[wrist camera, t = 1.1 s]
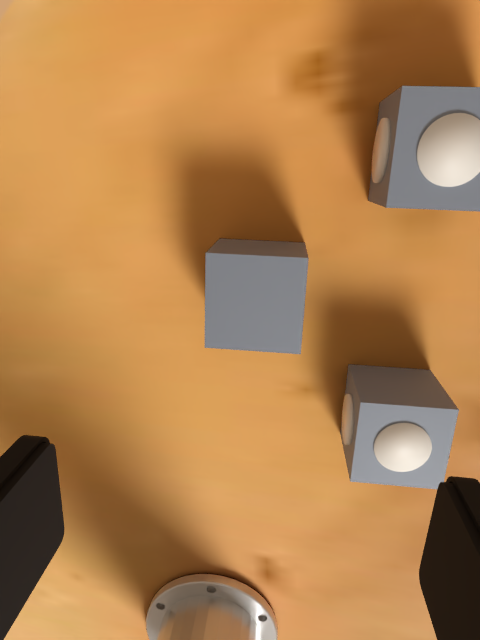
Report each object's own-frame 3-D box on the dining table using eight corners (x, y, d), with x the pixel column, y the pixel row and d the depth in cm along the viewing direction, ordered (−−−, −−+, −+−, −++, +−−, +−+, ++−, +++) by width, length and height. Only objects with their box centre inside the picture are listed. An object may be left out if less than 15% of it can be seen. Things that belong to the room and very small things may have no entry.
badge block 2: (417, 438, 36) (442, 491, 30) (337, 432, 36) (346, 482, 30) (429, 369, 34) (459, 411, 28) (345, 363, 34) (356, 403, 28)
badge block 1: (459, 204, 30) (501, 212, 24) (364, 200, 30) (382, 207, 25) (478, 104, 28) (528, 87, 22) (375, 102, 29) (397, 85, 23)
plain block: (298, 323, 34) (300, 354, 28) (218, 318, 34) (204, 347, 28) (304, 242, 32) (308, 257, 26) (219, 238, 32) (205, 252, 27)
